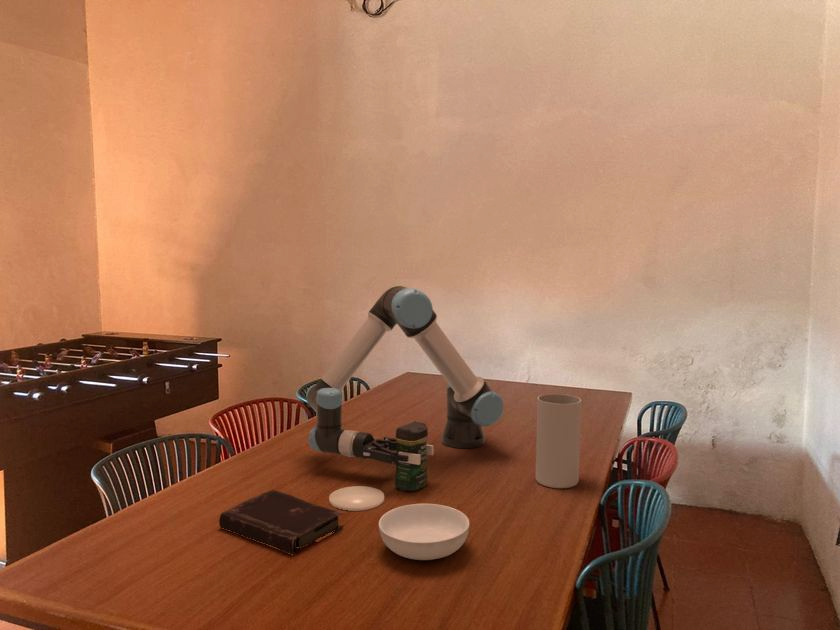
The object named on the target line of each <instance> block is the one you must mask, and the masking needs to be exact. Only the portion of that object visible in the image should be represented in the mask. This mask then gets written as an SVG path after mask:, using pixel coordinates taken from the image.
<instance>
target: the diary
mask: <svg viewBox="0 0 840 630" xmlns="http://www.w3.org/2000/svg"><path fill="white" fill-rule="evenodd" d="M341 515H344V512H341V511H337V510H334V509H330V508H328V507H325V506H321V505H318V504H314V503H312V502H309V501H306V500H304V499H301V498H299V497H297V496H294V495H292V494H288V493H285V492H283V491H278V490H276V489H271V490H268V491H266V492H263V493H261V494H258V495H257V496H254V497H252V498H250V499H247V500H245V501H243V502H241V503H238V504H237V505H235V506H233V507H231V508H229V509H228V510H225V511H223V512H221V513H220V516H219V519H218V525H219V527H220V529H221V528H224V529H227V530H230V531H232V532H235V533H238V534H240V535H243V536H245V537H248V538H251V539H254V540H256V541H259V542H262V543H265V544H268V545H271V546H273V547H276V548H278V549H280V550H283V551H285V552H287V553H290V554H295V551H294V550H298V548H296V547H299V548H300V547H303V546H305V545H307V544H309V543H311V542H313V541H315V540H317V539H318V538H320V537H323V536H325V535H326V534H328V533H330V532H332V531H333V532H334V533H335V532H336V533H338V532H340V531H341V530H342V529H343V528H344V525H339V517H340V516H341ZM224 529H223V530H224ZM227 530H226V531H227ZM334 530H335V531H334ZM339 530H340V531H339ZM337 531H338V532H337ZM232 532H231V533H232ZM333 532H332V533H333ZM235 533H234V534H235ZM336 533H335V534H336ZM238 534H237V535H238ZM240 535H239V536H240ZM243 536H242V537H243ZM245 537H244V538H245ZM248 538H247V539H248ZM313 543H314V542H313ZM311 544H312V543H311ZM309 545H310V544H309ZM287 553H286V554H287Z"/></svg>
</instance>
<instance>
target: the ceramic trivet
mask: <svg viewBox="0 0 840 630" xmlns="http://www.w3.org/2000/svg"><path fill="white" fill-rule="evenodd" d="M328 500H329V501H328V502H329V504H330V506H332V507H334V508H335V509H337V508H338V510H341V509H342V511H346V510H348V512H361V511H368V510H371V509H375V508H377V507H379V506H381V505H382V504H383V503H384V502H385V494H384V492H383V491H381V490H380V489H378V488H375V487H372V486H364V485H354V486H347V487H346V486H344V487H341V488H339V489H337V490H334V491H332V492H331V493H330V495H329V497H328Z"/></svg>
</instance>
